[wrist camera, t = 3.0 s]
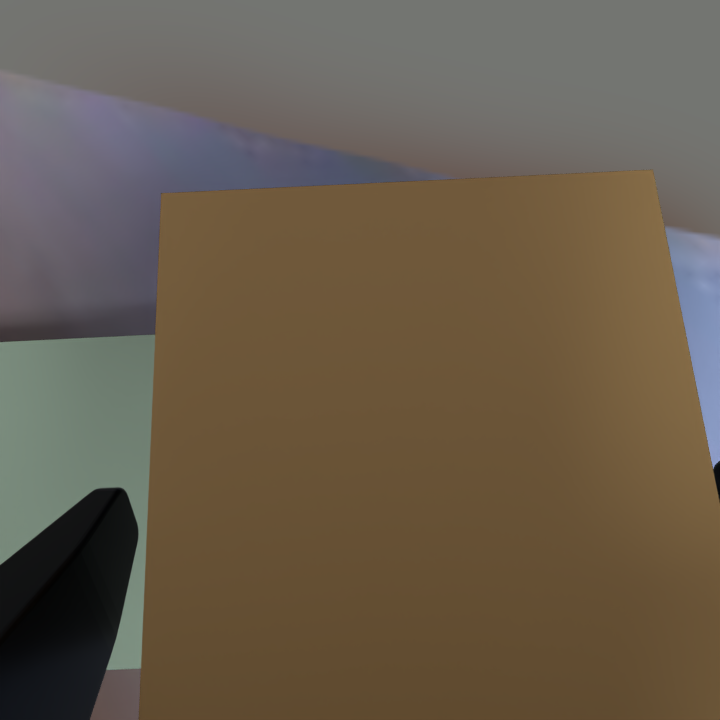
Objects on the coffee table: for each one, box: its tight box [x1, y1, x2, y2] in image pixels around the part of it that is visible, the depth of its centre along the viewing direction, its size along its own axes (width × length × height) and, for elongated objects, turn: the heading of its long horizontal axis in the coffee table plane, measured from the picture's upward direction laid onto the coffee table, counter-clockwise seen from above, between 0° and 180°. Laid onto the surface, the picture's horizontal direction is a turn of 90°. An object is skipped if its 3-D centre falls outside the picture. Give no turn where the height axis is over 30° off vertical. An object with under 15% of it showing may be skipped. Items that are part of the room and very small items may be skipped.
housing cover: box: [139, 170, 720, 720], centre depth 8 cm, size 6×6×3 cm
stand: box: [0, 335, 155, 670], centre depth 16 cm, size 9×9×1 cm
